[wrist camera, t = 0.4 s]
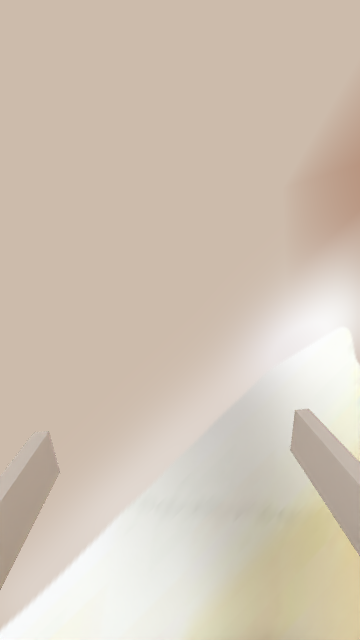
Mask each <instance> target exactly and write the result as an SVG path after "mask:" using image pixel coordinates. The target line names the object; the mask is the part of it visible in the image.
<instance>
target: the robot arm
mask: <svg viewBox="0 0 360 640" xmlns="http://www.w3.org/2000/svg"><path fill="white" fill-rule="evenodd" d="M290 450H291V452H292V453H293V455H294V456H295V458H296V459H297V461H298V462H299V464H300V466H301V467H302V469H303V470H304V472H305V473H306V475H307V476H308V478H309V479H310V481H311V482H312V484H313V485H314V487H315V489H316V490H317V492H318V493H319V495H320V496H321V498H322V499H323V501H324V502H325V504H326V505H327V507H328V508H329V510H330V512H331V513H332V515H333V516H334V518H335V519H336V521H337V522H338V524H339V525H340V527H341V528H342V530H343V531H344V533H345V535H346V536H347V538H348V539H349V541H350V542H351V544H352V545H353V547H354V548H355V550H356V551H357V553H358V554H359V556H360V462H359V461H358V460H357V459H356V458H355V457H354V456H353V455H352V454H351V453H350V452H349V451H348V450H347V448H346V447H345V446H344V445H343V444H342V443H341V442H340V441H339V440H338V439H337V438H336V437H335V436H334V435H333V434H332V433H331V432H330V431H329V430H328V429H327V428H326V426H325V425H324V424H323V423H322V422H321V421H320V420H319V419H318V418H317V417H316V416H315V415H314V414H313V413H312V412H311V411H310V410H309V409H302V410H295V415H294V424H293V432H292V441H291V449H290ZM59 473H60V470H59V466H58V463H57V459H56V455H55V452H54V448H53V444H52V441H51V437H50V433H49V431H47V432H36V433H33V434H32V436H31V437H30V439H29V440H28V441H27V442H26V443H25V445H24V446H23V447H22V449H21V450H20V451H19V452H18V454H17V455H16V457H15V458H14V459H13V460H12V462H11V463H10V464H9V465H8V467H7V468H6V469H5V471H4V472H3V473H2V474H1V476H0V589H1V588H2V586H3V584H4V582H5V580H6V578H7V576H8V574H9V571H10V570H11V568H12V566H13V564H14V562H15V560H16V558H17V556H18V554H19V552H20V550H21V548H22V546H23V544H24V542H25V540H26V538H27V536H28V534H29V532H30V530H31V528H32V526H33V524H34V522H35V520H36V518H37V516H38V514H39V512H40V510H41V508H42V506H43V504H44V502H45V500H46V498H47V497H48V495H49V493H50V491H51V488H52V487H53V485H54V483H55V481H56V479H57V477H58V475H59Z"/></svg>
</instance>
